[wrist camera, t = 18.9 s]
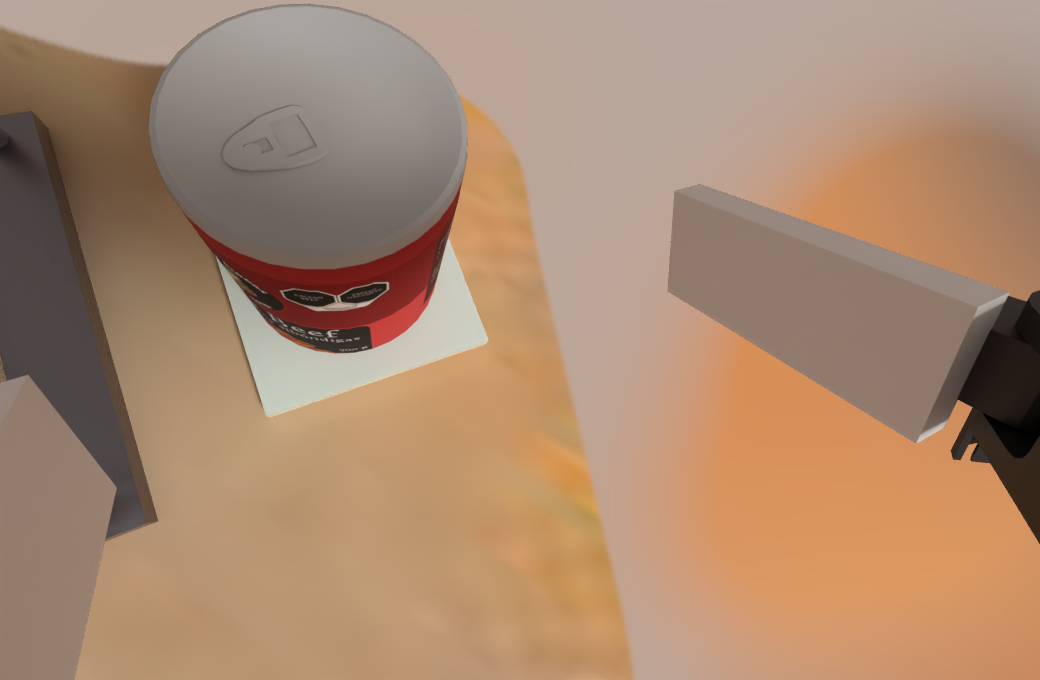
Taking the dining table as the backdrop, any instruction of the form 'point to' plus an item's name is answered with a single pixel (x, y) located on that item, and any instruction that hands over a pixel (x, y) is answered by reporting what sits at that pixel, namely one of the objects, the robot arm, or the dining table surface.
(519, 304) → the dining table surface
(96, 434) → the metal handle
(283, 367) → the sage mat
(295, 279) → the canned food
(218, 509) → the dining table surface
